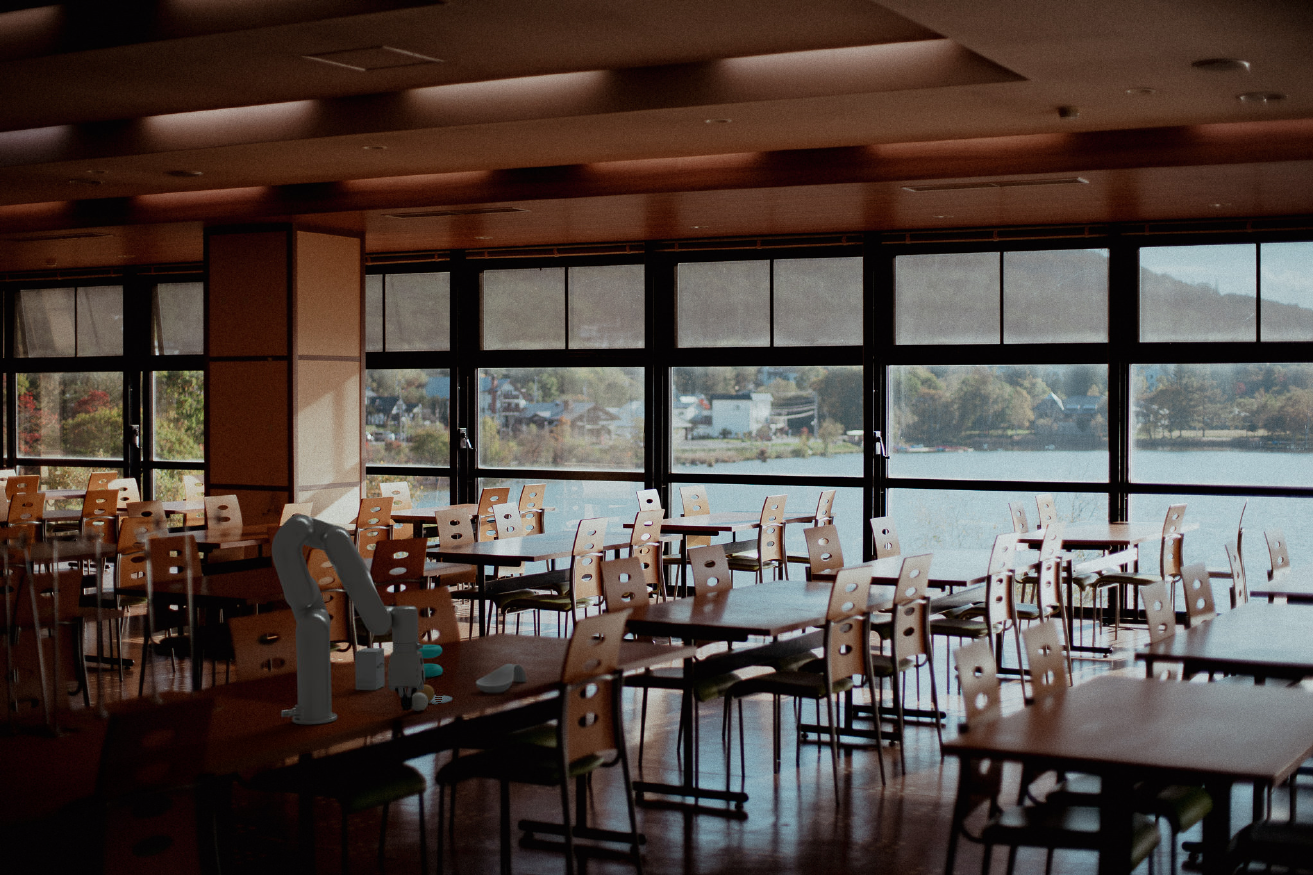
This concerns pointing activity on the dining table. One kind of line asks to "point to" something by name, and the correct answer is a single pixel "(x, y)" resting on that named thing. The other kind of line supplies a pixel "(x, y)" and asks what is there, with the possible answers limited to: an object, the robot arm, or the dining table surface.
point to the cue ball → (419, 701)
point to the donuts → (431, 652)
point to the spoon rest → (501, 679)
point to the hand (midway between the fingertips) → (406, 709)
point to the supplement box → (369, 668)
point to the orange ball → (428, 692)
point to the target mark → (444, 700)
